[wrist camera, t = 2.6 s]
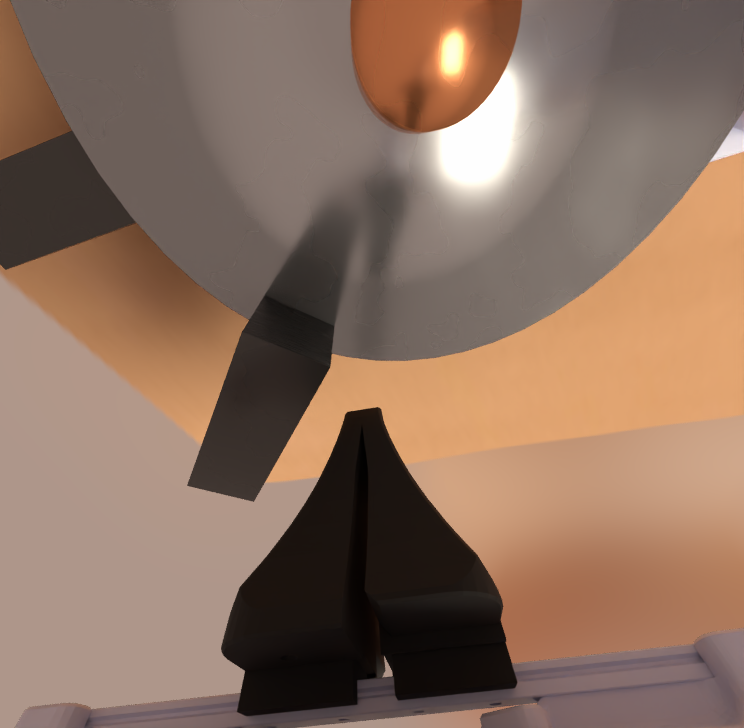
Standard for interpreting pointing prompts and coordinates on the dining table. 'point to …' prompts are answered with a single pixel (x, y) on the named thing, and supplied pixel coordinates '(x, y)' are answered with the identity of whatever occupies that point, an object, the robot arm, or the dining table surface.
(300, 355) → the cooker lid
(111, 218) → the cooker pot
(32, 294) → the dining table surface
